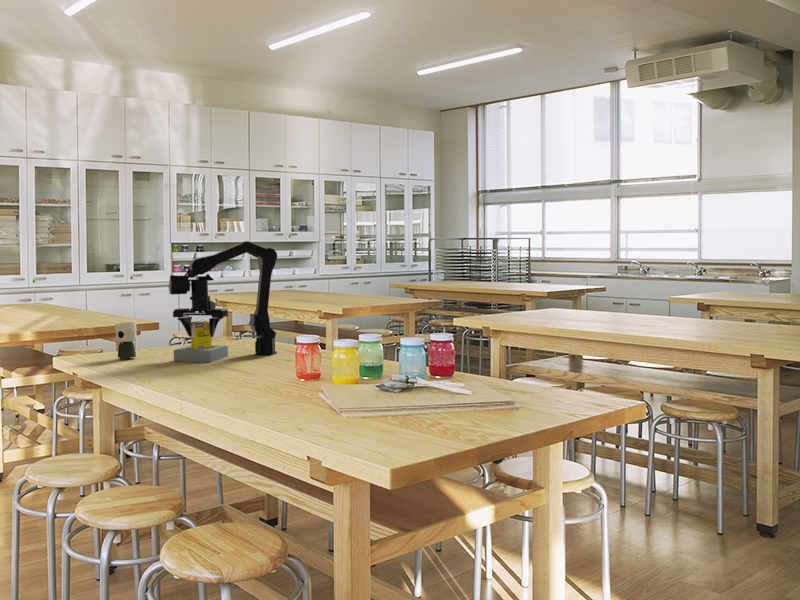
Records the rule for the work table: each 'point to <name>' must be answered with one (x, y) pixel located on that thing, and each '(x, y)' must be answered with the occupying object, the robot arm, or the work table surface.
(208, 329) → the supplement box
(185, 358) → the block
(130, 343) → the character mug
